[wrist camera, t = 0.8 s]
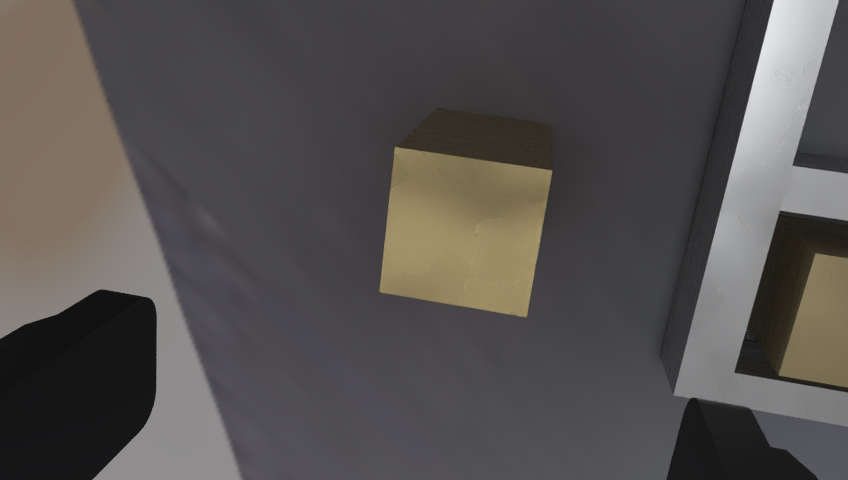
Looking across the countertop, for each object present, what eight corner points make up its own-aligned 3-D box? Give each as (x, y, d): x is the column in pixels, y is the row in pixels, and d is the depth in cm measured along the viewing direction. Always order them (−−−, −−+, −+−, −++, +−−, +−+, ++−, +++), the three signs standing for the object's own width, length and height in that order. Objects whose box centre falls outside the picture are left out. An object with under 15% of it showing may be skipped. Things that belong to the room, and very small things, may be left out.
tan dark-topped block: (438, 108, 26) (394, 147, 19) (550, 124, 26) (552, 170, 18) (425, 215, 27) (379, 292, 20) (531, 231, 27) (526, 317, 19)
